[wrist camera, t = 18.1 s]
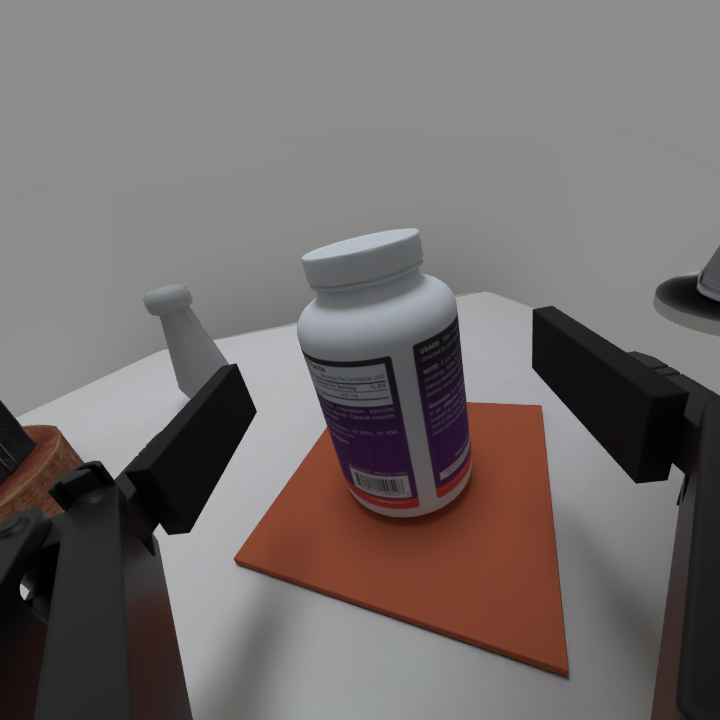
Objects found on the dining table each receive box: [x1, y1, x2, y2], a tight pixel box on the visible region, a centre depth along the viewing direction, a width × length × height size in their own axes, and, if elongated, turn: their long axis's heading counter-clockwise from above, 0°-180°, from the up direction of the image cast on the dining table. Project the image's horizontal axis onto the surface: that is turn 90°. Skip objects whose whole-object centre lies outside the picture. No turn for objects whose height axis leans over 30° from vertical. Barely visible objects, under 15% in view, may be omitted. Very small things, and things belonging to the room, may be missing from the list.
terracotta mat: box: [234, 402, 568, 676], centre depth 22 cm, size 16×16×1 cm
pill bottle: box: [297, 228, 472, 518], centre depth 18 cm, size 8×8×14 cm
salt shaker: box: [143, 284, 229, 399], centre depth 36 cm, size 6×6×13 cm
